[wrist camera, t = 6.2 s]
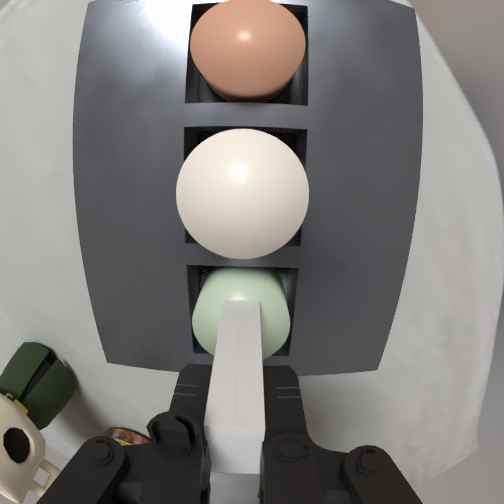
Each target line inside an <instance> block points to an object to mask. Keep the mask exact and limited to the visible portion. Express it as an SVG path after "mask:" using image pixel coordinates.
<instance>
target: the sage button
mask: <svg viewBox="0 0 504 504" xmlns="http://www.w3.org/2000/svg"><path fill="white" fill-rule="evenodd" d="M224 300H248V301H259V304H260V325H261V346H262V360H263V359H265V358H267V357H269V356H271V355H272V354H274V353H275V352H276V351H278V350H279V349H280V348H281V347H282V345H283V344H284V342H285V341H286V339H287V337H288V334H289V330H290V317H289V312H288V308H287V303H286V298H285V294H284V289H283V285H282V281H281V278H280V276H279V274H278V272H277V270H276V269H275V268H274V267H238V266H212V267H211V268H210V270H209V271H208V273H207V275H206V277H205V280H204V283H203V286H202V289H201V292H200V295H199V298H198V301H197V304H196V307H195V310H194V313H193V318H192V326H193V331H194V334H195V336H196V338H197V340H198V342H199V343H200V344H201V346H202V347H203V348H204V349H205V350H206V351H208V352H209V353H210V354H212V355H213V356H214V355H215V349H216V343H217V337H218V331H219V325H220V319H221V313H222V307H223V302H224Z"/></svg>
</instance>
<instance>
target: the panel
mask: <svg viewBox="0 0 504 504" xmlns="http://www.w3.org/2000/svg"><path fill="white" fill-rule="evenodd" d="M224 1H226V0H96V1H93V2H89V3H88V8H87V12H86V17H85V21H84V27H83V32H82V37H81V43H80V50H79V57H78V64H77V73H76V83H75V95H74V112H73V174H74V191H75V204H76V214H77V224H78V232H79V239H80V246H81V253H82V259H83V265H84V271H85V276H86V281H87V286H88V291H89V296H90V300H91V305H92V309H93V313H94V317H95V321H96V325H97V329H98V333H99V336H100V340H101V343H102V347H103V350H104V354H105V357H106V360H107V363H113V364H119V365H126V366H133V367H140V368H147V369H156V370H164V371H174V372H180V371H181V370H182V369H183V368H184V367H185V366H186V365H187V364H188V363H193V364H208V365H213V362H214V356H213V355H212V354H210V353H209V352H208V351H206V350H205V349H204V348H203V347H202V346H201V344H200V343H199V342H198V340H197V338H196V336H195V334H194V331H193V326H192V318H193V313H194V310H195V307H196V304H197V301H198V298H199V295H200V289H199V268H198V265H203V266H238V267H280V268H289V272H288V284H287V296H286V303H287V308H288V312H289V317H290V330H289V334H288V337H287V339H286V341H285V342H284V344H283V345H282V347H281V348H280V349H279V350H278V351H276V352H275V353H274V354H272V355H271V356H269V357H267V358H265V359H263V360H262V366H284V365H290V367H291V368H292V369H293V370H294V372H295V373H296V374H297V376H305V375H326V374H341V373H353V372H364V371H373V370H377V369H378V366H379V364H380V361H381V358H382V355H383V352H384V349H385V345H386V342H387V339H388V336H389V333H390V329H391V326H392V322H393V319H394V315H395V311H396V308H397V304H398V300H399V296H400V292H401V288H402V284H403V279H404V275H405V270H406V265H407V261H408V256H409V250H410V245H411V239H412V233H413V227H414V221H415V214H416V206H417V198H418V190H419V180H420V168H421V154H422V132H423V91H422V69H421V56H420V45H419V36H418V28H417V21H416V15H415V9H414V8H411V7H408V6H405V5H402V4H399V3H396V2H393V1H390V0H270V1H273V2H275V3H278V4H279V5H281V6H283V7H284V8H286V9H287V10H289V11H290V12H291V13H292V14H293V15H294V16H295V17H296V19H297V20H298V21H299V23H300V25H301V27H302V29H303V32H304V36H305V43H306V44H305V52H304V56H303V59H302V61H301V63H300V65H299V66H298V95H297V105H288V104H272V103H237V102H225V103H198V88H199V69H198V68H197V66H196V64H195V62H194V61H193V58H192V55H191V50H190V40H191V35H192V32H193V29H194V27H195V25H196V23H197V22H198V20H199V19H200V18H201V17H202V16H203V14H204V13H206V12H207V11H208V10H209V9H211V8H212V7H214V6H215V5H217V4H219V3H221V2H224ZM233 129H253V130H257V131H262V132H282V133H296V156H297V157H298V159H299V161H300V162H301V164H302V166H303V168H304V171H305V173H306V177H307V180H308V187H309V201H308V208H307V211H306V215H305V217H304V220H303V222H302V224H301V226H300V227H299V229H298V231H297V232H296V233H295V235H294V236H293V237H292V238H291V239H290V240H289V241H288V242H287V243H286V244H284V245H283V246H282V247H281V248H279V249H277V250H276V251H274V252H272V253H269V254H267V255H265V256H261V257H258V258H252V259H233V258H228V257H224V256H221V255H218V254H216V253H213V252H211V251H209V250H208V249H206V248H205V247H203V246H202V245H201V244H199V243H198V242H197V241H196V240H195V239H194V238H193V237H192V236H191V235H190V233H189V232H188V230H187V229H186V228H185V226H184V224H183V222H182V220H181V217H180V214H179V212H178V207H177V201H176V186H177V181H178V176H179V173H180V170H181V168H182V166H183V164H184V162H185V160H186V159H187V157H188V156H189V155H190V153H191V152H192V151H193V150H194V149H195V148H196V147H197V131H227V130H233Z"/></svg>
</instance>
